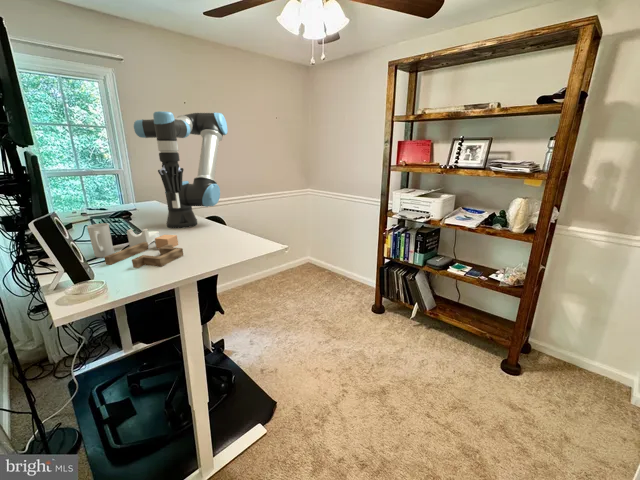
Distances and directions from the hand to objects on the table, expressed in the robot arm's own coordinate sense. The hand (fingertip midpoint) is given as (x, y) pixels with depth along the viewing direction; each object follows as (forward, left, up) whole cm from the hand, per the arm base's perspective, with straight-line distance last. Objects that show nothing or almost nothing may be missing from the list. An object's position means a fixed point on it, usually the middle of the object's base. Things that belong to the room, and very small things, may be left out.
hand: (176, 207), depth 132 cm
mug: (+25, -16, -15) cm, 33 cm away
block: (+9, 0, -15) cm, 18 cm away
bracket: (+6, -14, -16) cm, 22 cm away
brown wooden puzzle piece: (+23, +3, -15) cm, 28 cm away
